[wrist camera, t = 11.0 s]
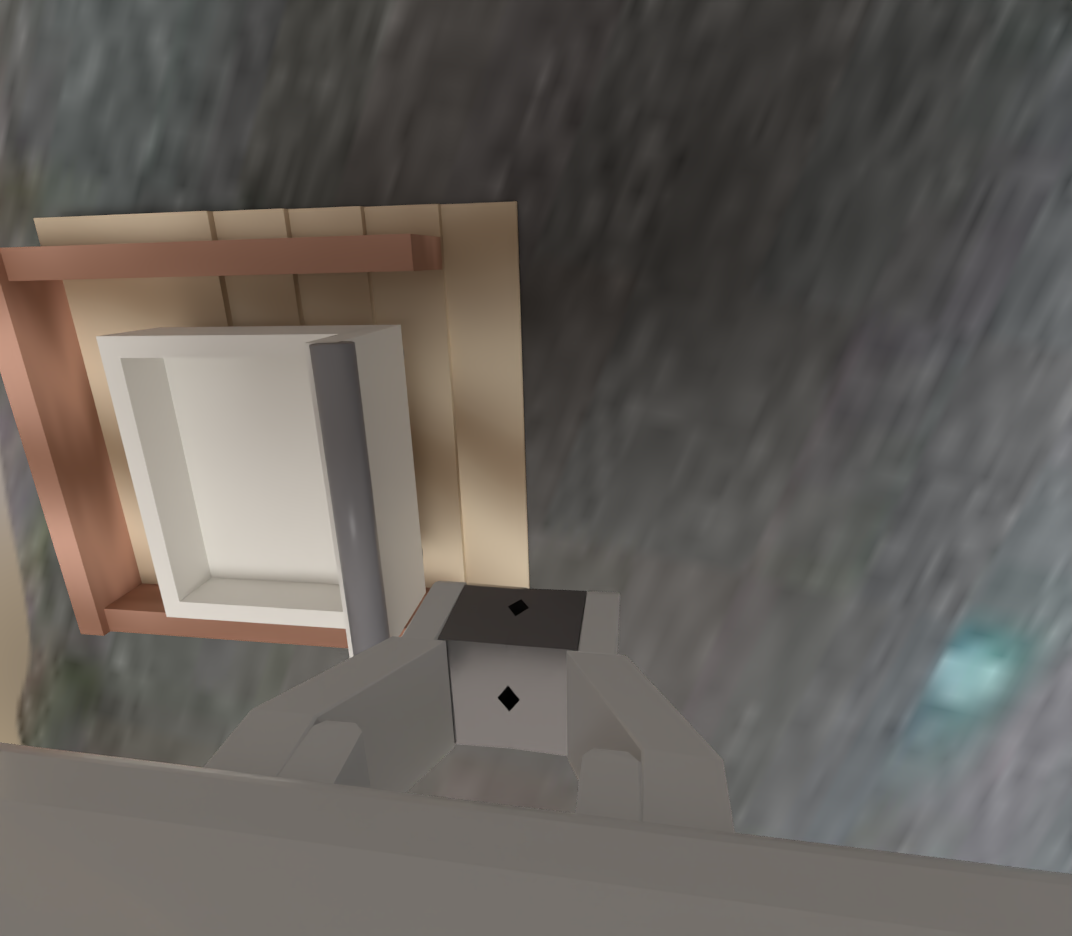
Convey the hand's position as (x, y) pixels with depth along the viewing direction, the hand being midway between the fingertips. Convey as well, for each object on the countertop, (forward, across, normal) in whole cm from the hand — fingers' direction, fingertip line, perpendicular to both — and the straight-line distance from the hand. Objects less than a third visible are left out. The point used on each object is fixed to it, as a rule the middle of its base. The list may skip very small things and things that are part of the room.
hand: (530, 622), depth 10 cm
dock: (+12, +11, +1) cm, 16 cm away
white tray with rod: (+11, +9, +1) cm, 14 cm away
